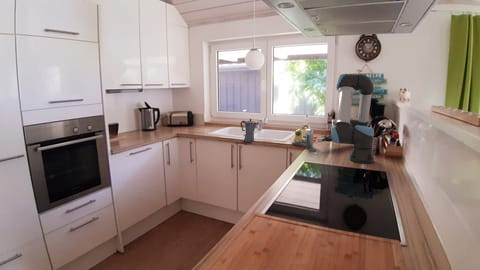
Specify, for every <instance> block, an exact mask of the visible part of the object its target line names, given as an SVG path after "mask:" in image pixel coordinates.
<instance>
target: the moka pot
mask: <svg viewBox="0 0 480 270" xmlns="http://www.w3.org/2000/svg"><path fill="white" fill-rule="evenodd" d="M243 124H244V125H243ZM257 125H258V122H257V121H253V120H252V118H249V120H242V121H241V122H240V127H241V130H242V132H245V135H244V139H243V141H244V142H246V143H254V142H255V134H254V133H255V129H256V128H257ZM244 126H245V129H244Z"/></svg>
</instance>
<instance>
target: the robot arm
mask: <svg viewBox="0 0 480 270" xmlns="http://www.w3.org/2000/svg"><path fill="white" fill-rule="evenodd" d="M374 88H375V87H374V84H373V81H372V79H371V78H370V77H369V76H367V75H366V74H363V73H359V74H357V73H353V74H352V73H349V74H348V73H345V74H339V76H338V78H337V82H336V91H337V92H338V93H339V100H338V107H337V116H336V122H334V124H333V125H332V126H331V134H330V135H327V134H324V135H323V136H321V137H319V138H317V143H322V142H329V143H331V142H332V143H333V144H334V143H335V144H342V145H351V146H353V147H352V148H353V149H351V150H352V151H351V152H350V155H349V161H351V162H354V163H358V164H365V165H366V164H367V165H368V164H370V165H371V164H374V163H375V156H374V153H373V145H374V136H375V135H374V134H375V130H374V129H373V128H371V126H370V127H368V126H369V124H370V123H371V121H372V120H369V117H370V108H371V102H372V101H371V100H372V95H373V94H374V90H375V89H374ZM356 91H358V93H359V102H358V103H359V104H358V107H359V108H358V117H357V119H352V117H351V115H352V103H353V95H354V94H355V93H356ZM370 125H371V124H370Z"/></svg>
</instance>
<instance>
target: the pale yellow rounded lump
mask: <svg viewBox="0 0 480 270" xmlns="http://www.w3.org/2000/svg"><path fill="white" fill-rule="evenodd" d="M304 130H305V129H301V128H297V129H296V130H295V131H294V137H293V138H294V139H293V141H292V142H291V145H293V146H301V147H303V146H304V147H305V140H306V137H304Z"/></svg>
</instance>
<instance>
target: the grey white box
mask: <svg viewBox="0 0 480 270" xmlns="http://www.w3.org/2000/svg"><path fill="white" fill-rule="evenodd" d="M314 132H315V129H314V128H306V129H305V145H304V147H305V149H306V150H309V148H313V147H314V136H315V135H314Z"/></svg>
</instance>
